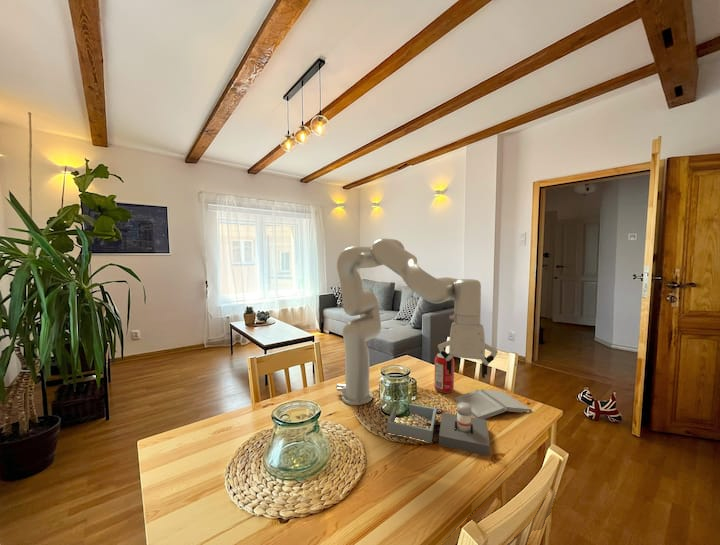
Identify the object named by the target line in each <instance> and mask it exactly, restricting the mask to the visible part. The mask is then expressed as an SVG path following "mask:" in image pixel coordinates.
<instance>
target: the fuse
mask: <svg viewBox="0 0 720 545" xmlns="http://www.w3.org/2000/svg"><path fill="white" fill-rule="evenodd" d="M456 408H457V409H456V412H457V413H456V415H457V430H456V431H459V432H465V433H470V434H472V433H471V417H472V415H471V410H472V407H471V405H469V404H467V403H457V406H456Z"/></svg>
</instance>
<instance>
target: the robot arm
mask: <svg viewBox="0 0 720 545" xmlns="http://www.w3.org/2000/svg"><path fill="white" fill-rule="evenodd" d="M379 266H381V267H382V266H385V267H387V268H388V269H389V270H391V271H392V272H393V273H395V274H396V275H398V276H399V277H401V279H402V280H403V282H404V283H405V285H406V286H407V287H408V288H409V289H410V290H411V291H412V292H414V293H415V294H416V295H418V296H419V297H421V298H422V299H424V300H425V301H427V302H429V303H431V304H442V303H445V302H447V301H454V308H453V310H454V313H453V314H449V315H448V316H449V320H452V321H453V322H452V323H451V327H450V332H449V340H446V341H444V342H442V343H439V344H437V348H438V351H439V353H441V355H442V356H443V357H444V358H445V359H446V361H447V370H449V374H451V371H452V359H451V358H452V357H453V358H455V357H456V358H461V359H462V358H463V359H470V360H480V361H481V377H482V378H483V379H485V377H486V376H485V375H488V366H489V364H490V363H491V362H492V361H494V360H495V358H496V356H497V355H498V353H499V352H498V350H497V349H496V348H494V347H492V346H491V345H489V344H487V343H486V340H485V339H486V338H485V330H484V329H485V328H484V325H483V324H482V323H481V308H482V306H481V302H482V301H481V300H482V299H481V298H482V297H481V296H482V284H481V282H480V281H479V280H477V279H473V278H472V279H471V278H470V279H469V278H461V279H459V278H454V277H439V278H437V277H434V276H432V275H431V274H430V273H428V272H426V271H425V270H424V269H422V268H421V267H420V266H419V264H418V258H417V257H416V255H414V254H412V253H411V252H409V251H408V250H406V248H405V247H404V245H403V243H402V242H401V241H400V240H398V239H393V238H379V239H377V240H375V241H374V243H372V245H371V246H361V245H358V246H356V245H355V246H354V245H353V246H349V247H347V248H345V249H343V250H342V251H341V252H340V253H339V255H338V258H337V262H336V269H337V274H338V277H339V283H340V293H341V300H342V307H343V311H344V313H345V314H346V315H347V316H349V317H355V316H360V317H358V318H354V319H352V320H349V321H347V323H346V324H345V325H344V327H343V328H342V337H343V344H344V354H345V355H344V356H345V359H344V360H345V361H344V362H345V364H344V365H345V366H344V368H345V369H344V370H345V371H344V372H345V373H344V374H345V376H344V377H345V380H344V381H345V383H344V384H342V383H337V384H336V386H335V388H336V391H337V392H342V393H341V400H342V401H343V402H344V403H345V404H348V405H350V406H361V405H360V404H365V403H368V402H369V401H371V400H372V398H373V399H374V394H373V392H372V391H371V390H370V351H369V347H368V344H367V342H368V341H370V340H372V339H375V338H376V337H378V336H379V335H380V334H381V333H380V332H381V331H382V322H381V315H380V308H379V300H378V298H377V295H376V294H375V293H374V292H373V291H372V290H370V289H363V287H364V286H363V281H362V276H361V275H360V274H359V272H358V269H367V268H368V269H369V268H376V267H379ZM446 347H448V351H449V352H448V354H447V352H446V350H445V349H444V348H446ZM486 350H487V351H488V352H490V354H489V355H488V356H487V357H486ZM372 401H373V400H372ZM372 401H371V402H372ZM368 404H369V403H368ZM365 405H366V404H365Z"/></svg>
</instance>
